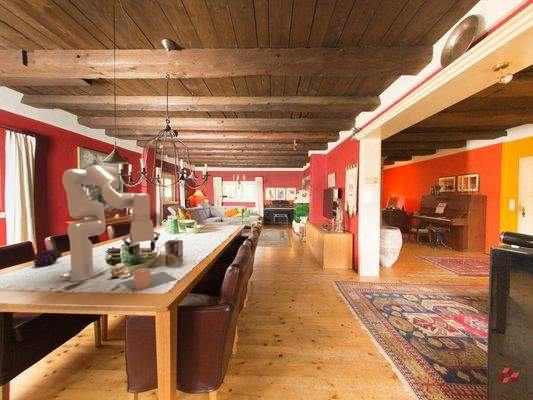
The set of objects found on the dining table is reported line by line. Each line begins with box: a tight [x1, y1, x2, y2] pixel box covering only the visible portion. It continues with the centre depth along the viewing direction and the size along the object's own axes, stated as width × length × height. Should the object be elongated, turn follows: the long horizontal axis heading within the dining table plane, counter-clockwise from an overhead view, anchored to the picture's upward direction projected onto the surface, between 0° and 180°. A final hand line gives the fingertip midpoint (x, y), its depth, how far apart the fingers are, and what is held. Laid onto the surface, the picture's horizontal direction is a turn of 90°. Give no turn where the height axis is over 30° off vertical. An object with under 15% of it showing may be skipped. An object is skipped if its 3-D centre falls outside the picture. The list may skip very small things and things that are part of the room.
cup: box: [133, 267, 152, 289], centre depth 113 cm, size 7×7×8 cm
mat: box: [120, 271, 178, 294], centre depth 120 cm, size 22×18×1 cm
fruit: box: [33, 248, 63, 268], centre depth 146 cm, size 10×11×15 cm
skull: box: [107, 262, 134, 281], centre depth 126 cm, size 12×10×10 cm
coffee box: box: [164, 239, 184, 268], centre depth 146 cm, size 9×6×16 cm
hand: (142, 252), depth 113 cm, fingers open, 9 cm apart
